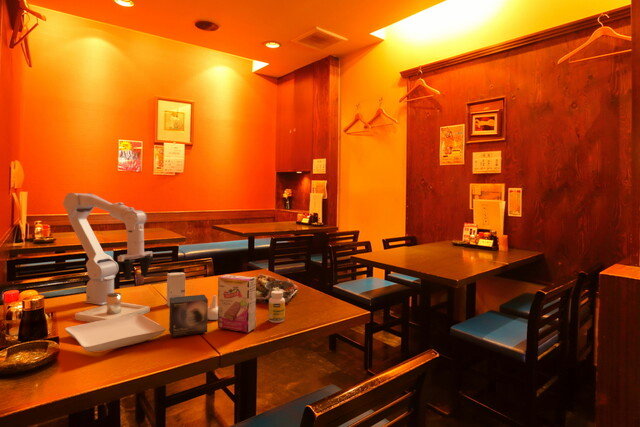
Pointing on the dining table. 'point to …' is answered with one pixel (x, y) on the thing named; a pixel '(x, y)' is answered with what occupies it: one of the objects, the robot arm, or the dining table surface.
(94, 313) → the tray
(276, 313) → the supplement bottle
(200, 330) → the small box
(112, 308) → the cylinder
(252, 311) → the candy bar box
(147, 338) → the salad plate
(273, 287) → the food tray
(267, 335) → the dining table surface
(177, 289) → the skincare box
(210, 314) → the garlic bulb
